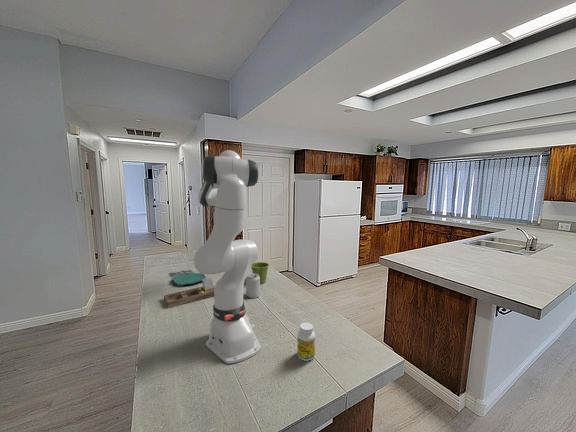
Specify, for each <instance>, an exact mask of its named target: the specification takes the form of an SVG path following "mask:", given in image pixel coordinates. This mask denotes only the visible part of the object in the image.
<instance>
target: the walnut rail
mask: <svg viewBox="0 0 576 432" xmlns="http://www.w3.org/2000/svg"><path fill="white" fill-rule="evenodd" d="M214 287H215V285H214V284H213V290H210V291H206V292H204V291H203V290H202V286H199V287H194V288H191V289H185V290H181V291H177V292H172V293H168V294H164V295H163V301H164V303H165V304H166V307H167V309H171V308H174V307H179V306H182V305H185V304H191V303H194V302H197V301H198V302H199V301H201V300H202V301H203V300H205V299H209V298H212V297H213V298H214Z"/></svg>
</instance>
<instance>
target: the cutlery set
mask: <svg viewBox="0 0 576 432" xmlns="http://www.w3.org/2000/svg"><path fill="white" fill-rule="evenodd" d="M168 275H169V276H170V278H172V279H171V283H172V284H175V285H177V286H179V287H182V286H190V285H194V284H195V285H196V284H198V283H200V282H201V283H202V280H203V279H207V278H206V276H205V275H203V274H201V273H199V272H198V273H197V272H193V271H192V270H191V269H190V270H189V269H188V270H181V271H178V272H177V271H176V272H169V273H168Z"/></svg>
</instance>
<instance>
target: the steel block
mask: <svg viewBox="0 0 576 432" xmlns="http://www.w3.org/2000/svg"><path fill="white" fill-rule="evenodd" d="M213 285H214V280H213V279H212V278H211V277H209V278H206V279H203V280H202V281H201V287H202V290H203V291H204V292H206V291H210V290H213Z"/></svg>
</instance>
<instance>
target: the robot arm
mask: <svg viewBox="0 0 576 432" xmlns="http://www.w3.org/2000/svg"><path fill="white" fill-rule="evenodd" d="M200 174H201V176H202V179H203V183H202V186H201V188H200V189H199V191H198V202H199V204H200V205H201V206H203V207H213V208H212V209H211V210H212V211H211V212H212V214H213V215H212V218H213V219H212V220H213V227H212V230H211V232H210V234H209V236H208V238H207V240H206V241H205V242H204V243H203V245H201V246H200V247H199V248H198V249H197V250H196V251H195V253H194V255H193V257H194V258H193V264H194V267H195V269H196V270H197V272H198V273H201V274H203V275H207V276H208V275H209V276H210V275H217V274H221V273H223V275H222V276H221V278H219V279H218V280H217V281H216V282H215V285H214V286H215V287H214V297H213V300H214V302H213V306H212V307H213V308H212V312H213V313H212V315H213V317H212V319H211V321H210V323H209V334H208V335H209V337H208V339H207V340H206V341H205V347H206V348H207V349H209V350H210V351H211V352H212V353H213V354H215V355H216V356H217V357H218V358H219V359H220V360H222V361H223V362H224V363H225V364H235V363H239V362H240V363H241V362H243V361H245V360H248V359H249V358H252V357H253V356H255V355H256V354H258V353H259V352H260V351H261V349H262V346H261V343H260V342H259V340H258V338H257V336H256V335H255V332H254V331H256V325H255V324H253V323H252V324H251V322H250V320H251V319H250V317H249V316H248V315H247V313H246V311H247V310H246V305H245V301H244V286H245V285H244V284H245V282H246V281H245V280H246V278H247V275H248V272H249V271H250V269H251V265H252V264H253V263H256V261H257V260H258V257H259V249H258V245H257V244H256V242H254V241H253V240H251V239H236V237H237V236H238V235H239V234H241V233H242V232H243V230H244V229H245V226H246V216H247V213H246V212H247V189H246V188H247V187H254V186H256V185H257V183H258V180H259V178H260V168H259V165H258V163H257V162H256V161H253V160H251V159H243V158H241V156H240V154H238V153H237V152H236V151H234V150H231V149H230V150H229V149H228V150H227V149H226V150H224V151H222V152H221V153H220V154H219V155H218V156H215V155H207V156H205V157H204V158H203V160H202V163H201V165H200ZM235 239H236V240H235Z"/></svg>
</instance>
